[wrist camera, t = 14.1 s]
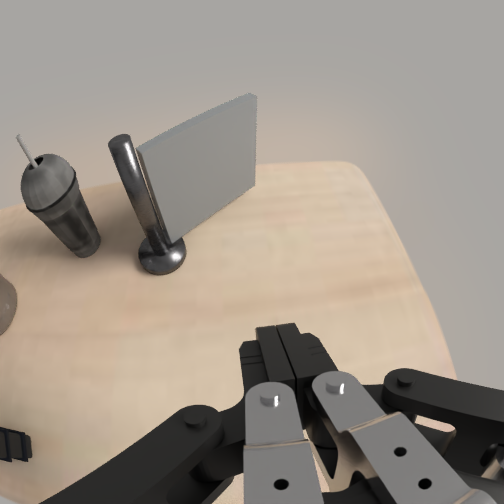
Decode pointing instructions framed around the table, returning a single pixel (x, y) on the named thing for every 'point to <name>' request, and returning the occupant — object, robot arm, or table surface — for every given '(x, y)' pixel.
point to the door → (201, 164)
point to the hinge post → (145, 212)
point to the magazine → (14, 445)
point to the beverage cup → (59, 201)
